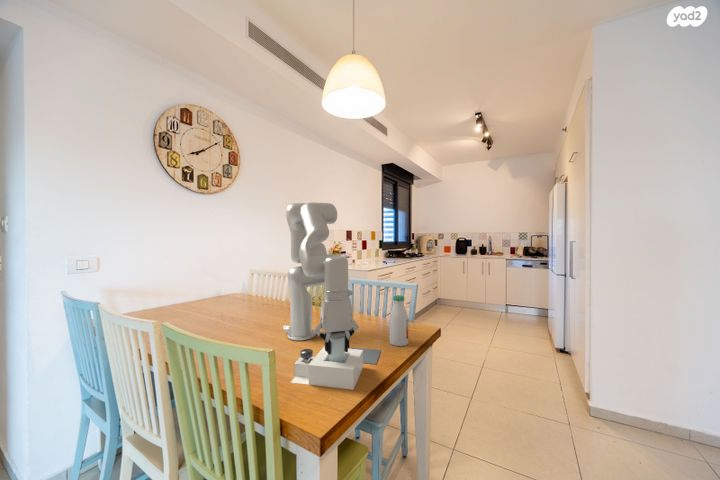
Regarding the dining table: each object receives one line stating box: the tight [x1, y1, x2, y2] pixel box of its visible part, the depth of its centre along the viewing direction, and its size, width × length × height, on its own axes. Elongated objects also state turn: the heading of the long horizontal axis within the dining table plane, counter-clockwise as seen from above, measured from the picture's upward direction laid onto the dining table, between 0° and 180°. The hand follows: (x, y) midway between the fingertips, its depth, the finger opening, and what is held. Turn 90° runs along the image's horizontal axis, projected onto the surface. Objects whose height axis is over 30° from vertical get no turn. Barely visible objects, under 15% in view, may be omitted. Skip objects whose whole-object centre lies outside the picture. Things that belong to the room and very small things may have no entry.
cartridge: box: [329, 331, 346, 363], centre depth 92 cm, size 6×6×14 cm
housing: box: [289, 346, 364, 391], centre depth 93 cm, size 20×14×7 cm
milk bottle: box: [389, 294, 409, 347], centre depth 121 cm, size 8×8×20 cm
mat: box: [349, 347, 382, 366], centre depth 107 cm, size 12×12×1 cm
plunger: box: [299, 348, 314, 363], centre depth 94 cm, size 4×4×6 cm
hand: (337, 351), depth 92 cm, fingers closed on cartridge, 5 cm apart
